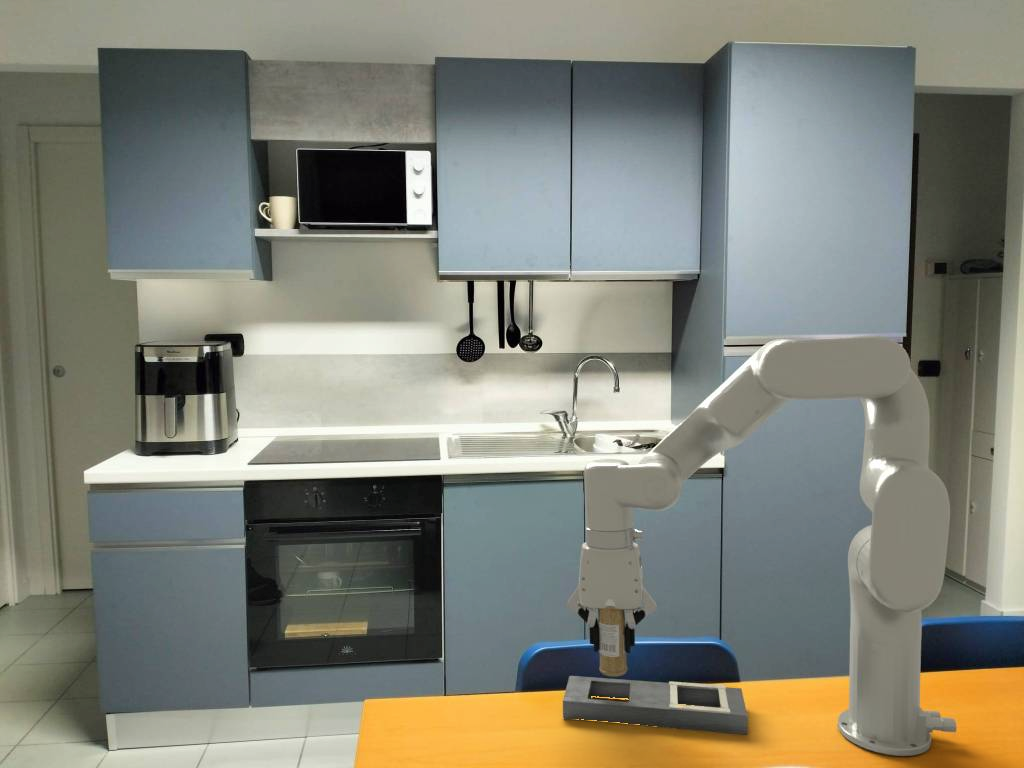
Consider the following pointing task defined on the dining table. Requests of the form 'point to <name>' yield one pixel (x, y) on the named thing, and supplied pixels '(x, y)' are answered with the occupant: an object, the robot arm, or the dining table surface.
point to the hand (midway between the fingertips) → (612, 647)
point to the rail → (657, 704)
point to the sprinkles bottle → (612, 640)
